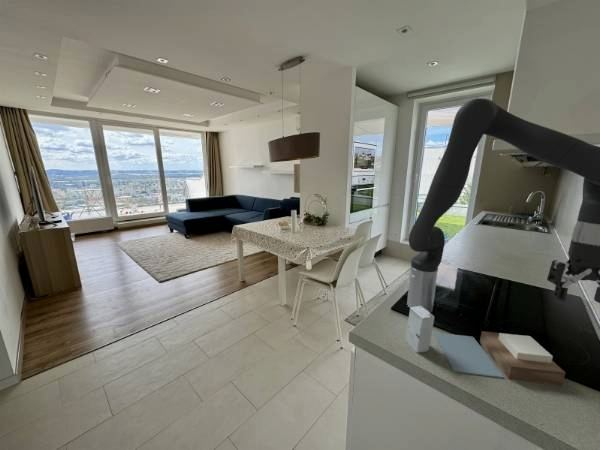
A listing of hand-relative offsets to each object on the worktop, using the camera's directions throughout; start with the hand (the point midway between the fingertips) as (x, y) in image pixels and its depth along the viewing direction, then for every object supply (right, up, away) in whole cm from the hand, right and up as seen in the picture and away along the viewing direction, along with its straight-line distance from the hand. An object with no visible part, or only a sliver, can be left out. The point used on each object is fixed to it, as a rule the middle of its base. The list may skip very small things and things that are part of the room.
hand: (579, 300), depth 62 cm
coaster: (-9, -16, +6) cm, 19 cm away
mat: (-23, -19, +10) cm, 31 cm away
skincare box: (-35, -19, +13) cm, 42 cm away
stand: (-10, -20, +7) cm, 23 cm away
